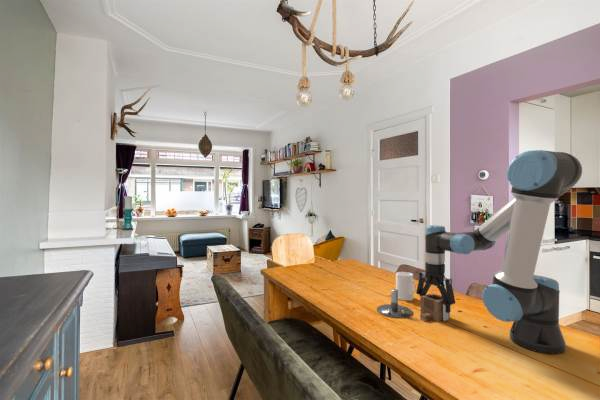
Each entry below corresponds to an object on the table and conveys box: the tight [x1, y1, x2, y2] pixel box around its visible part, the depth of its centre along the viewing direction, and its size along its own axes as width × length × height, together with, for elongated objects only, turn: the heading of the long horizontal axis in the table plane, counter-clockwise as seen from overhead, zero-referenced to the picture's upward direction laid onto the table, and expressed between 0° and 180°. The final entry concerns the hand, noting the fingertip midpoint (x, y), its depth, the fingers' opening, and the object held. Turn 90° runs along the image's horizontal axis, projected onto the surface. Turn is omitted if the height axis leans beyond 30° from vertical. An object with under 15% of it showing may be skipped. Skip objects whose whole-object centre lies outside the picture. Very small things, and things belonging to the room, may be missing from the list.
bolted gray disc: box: [376, 288, 414, 319], centre depth 135 cm, size 15×15×9 cm
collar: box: [419, 292, 451, 322], centre depth 128 cm, size 12×8×8 cm, turn 122°
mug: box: [395, 271, 417, 302], centre depth 151 cm, size 12×8×12 cm
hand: (434, 315), depth 129 cm, fingers open, 9 cm apart
